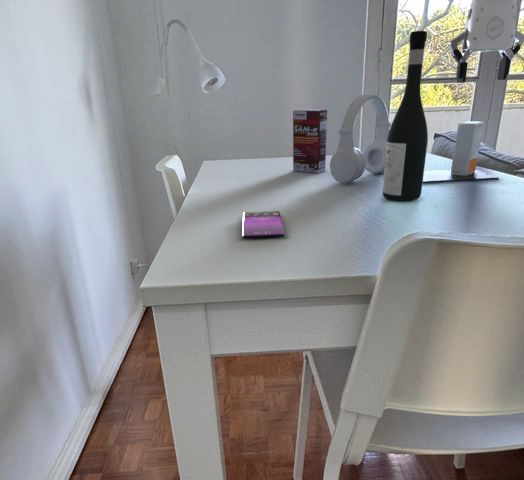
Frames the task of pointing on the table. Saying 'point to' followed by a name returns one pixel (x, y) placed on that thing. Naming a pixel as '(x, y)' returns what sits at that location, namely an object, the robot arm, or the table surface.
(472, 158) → the cosmetic box
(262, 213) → the smartphone
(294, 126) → the supplement box
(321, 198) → the table surface
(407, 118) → the wine bottle
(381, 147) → the headphones
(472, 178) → the mat
